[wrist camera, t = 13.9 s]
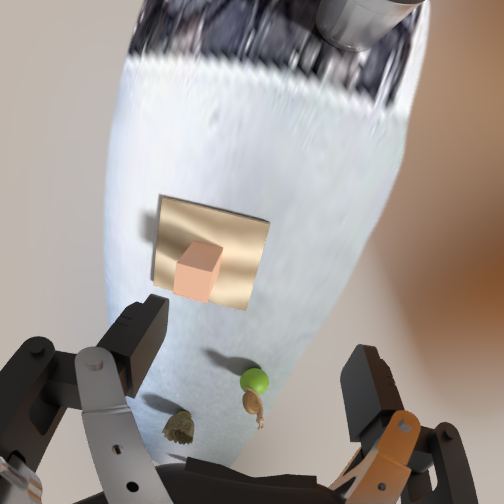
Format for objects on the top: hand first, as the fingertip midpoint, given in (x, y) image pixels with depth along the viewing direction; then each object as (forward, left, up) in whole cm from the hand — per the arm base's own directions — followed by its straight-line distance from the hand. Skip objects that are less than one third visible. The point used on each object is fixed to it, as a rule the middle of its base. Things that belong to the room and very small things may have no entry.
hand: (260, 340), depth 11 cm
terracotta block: (+12, -7, -29) cm, 32 cm away
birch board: (+12, -8, -30) cm, 33 cm away
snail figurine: (+34, +6, -30) cm, 46 cm away
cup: (+56, -7, -30) cm, 64 cm away
